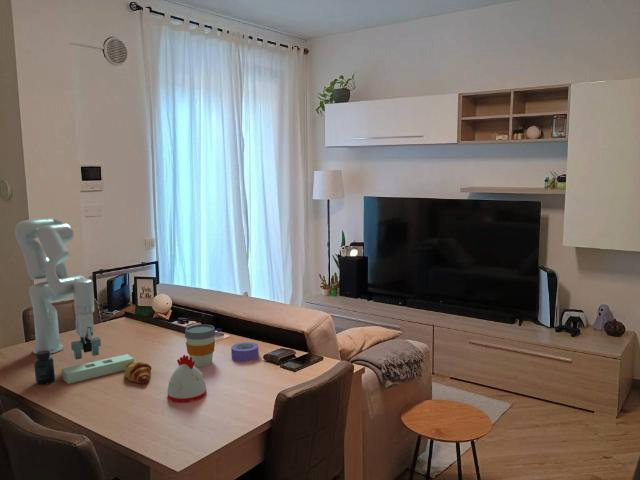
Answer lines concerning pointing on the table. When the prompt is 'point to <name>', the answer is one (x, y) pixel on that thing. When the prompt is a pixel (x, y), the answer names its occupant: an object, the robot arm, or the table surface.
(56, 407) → the table surface
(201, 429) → the table surface
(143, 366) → the croissant
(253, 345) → the tape roll
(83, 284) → the robot arm
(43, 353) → the supplement bottle
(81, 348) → the clip
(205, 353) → the reusable coffee cup
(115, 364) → the rail
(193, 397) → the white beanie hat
